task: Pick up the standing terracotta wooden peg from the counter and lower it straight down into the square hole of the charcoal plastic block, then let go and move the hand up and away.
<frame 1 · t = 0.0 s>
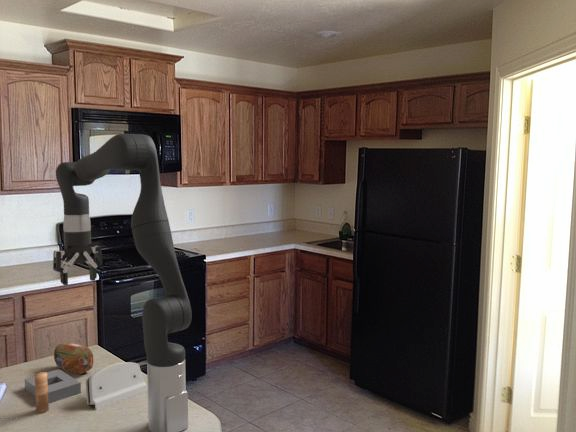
hand: (79, 282, 160), 29 cm above the counter, tool pointing down, fingers open, 8 cm apart
peg: (42, 410, 141), on the counter
hole block: (52, 390, 152), on the counter
tin: (74, 370, 167), on the counter
hinge: (116, 396, 150), on the counter
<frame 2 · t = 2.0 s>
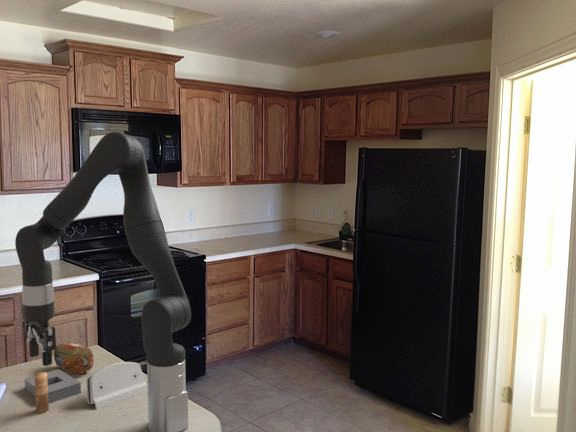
hand: (40, 360, 139), 14 cm above the counter, tool pointing down, fingers open, 8 cm apart
nothing on the counter moved.
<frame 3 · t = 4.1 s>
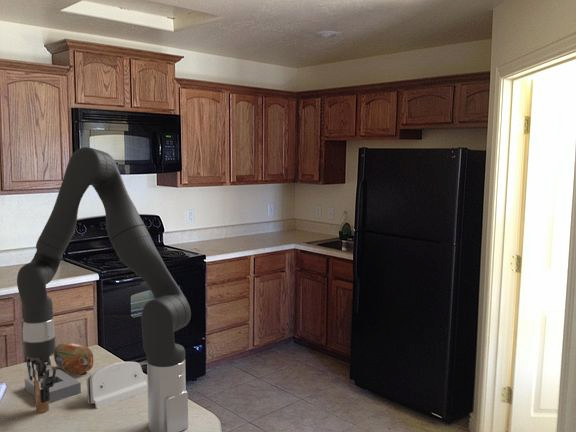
hand: (42, 399, 140), 3 cm above the counter, tool pointing down, fingers closed on peg, 3 cm apart
peg: (42, 410, 141), on the counter, touching gripper
everything else where it was.
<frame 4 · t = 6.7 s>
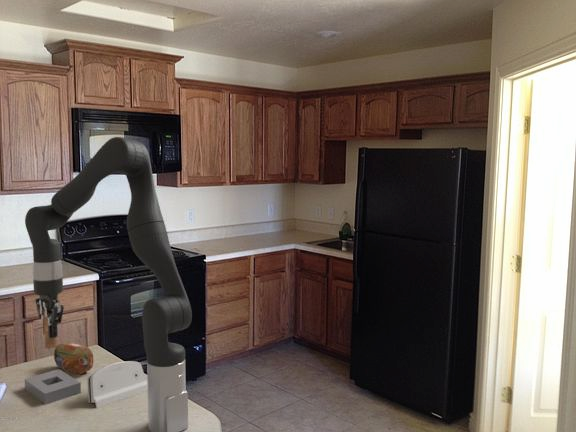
hand: (50, 335, 151), 16 cm above the counter, tool pointing down, fingers closed on peg, 3 cm apart
peg: (50, 346, 151), point 13 cm above the counter, touching gripper
everything else where it was.
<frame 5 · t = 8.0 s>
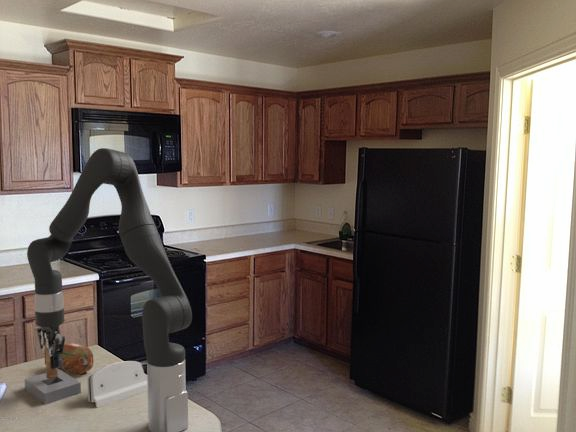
hand: (51, 365, 152), 7 cm above the counter, tool pointing down, fingers closed on peg, 3 cm apart
peg: (52, 376, 152), point 4 cm above the counter, touching gripper
when the fingers open (5 cm above the counter, at t = 9.2 s): peg drops 1 cm, resting in hole block.
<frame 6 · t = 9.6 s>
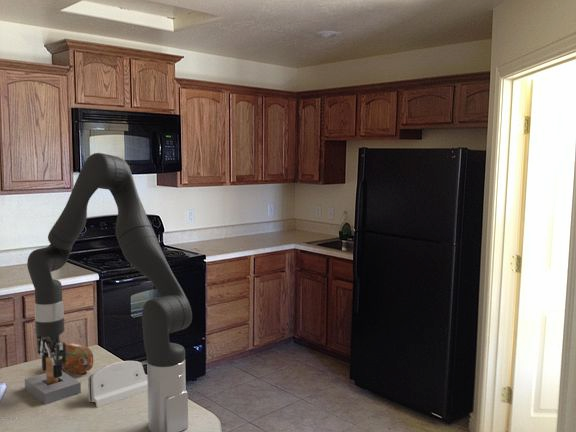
hand: (52, 373, 152), 5 cm above the counter, tool pointing down, fingers open, 7 cm apart
peg: (52, 390, 152), resting in hole block
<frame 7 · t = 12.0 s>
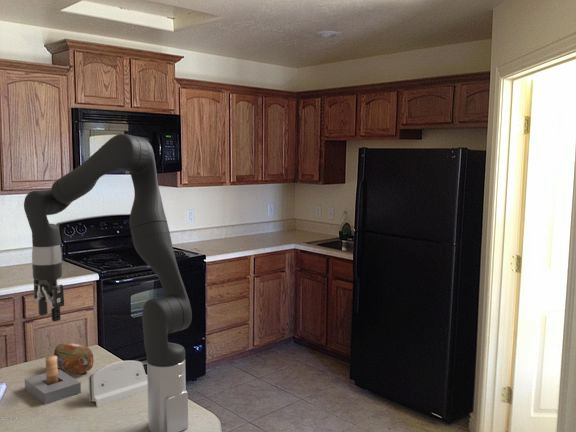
hand: (49, 317, 150), 22 cm above the counter, tool pointing down, fingers open, 8 cm apart
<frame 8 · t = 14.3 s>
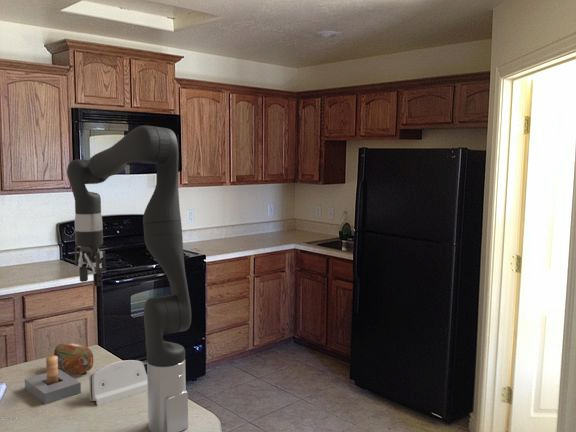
hand: (90, 283, 155), 30 cm above the counter, tool pointing down, fingers open, 8 cm apart
at the end: peg 0.2 cm off-centre on the hole block, point 0.0 cm above the hole block's base; peg tilted 1°; the gripper is holding nothing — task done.
